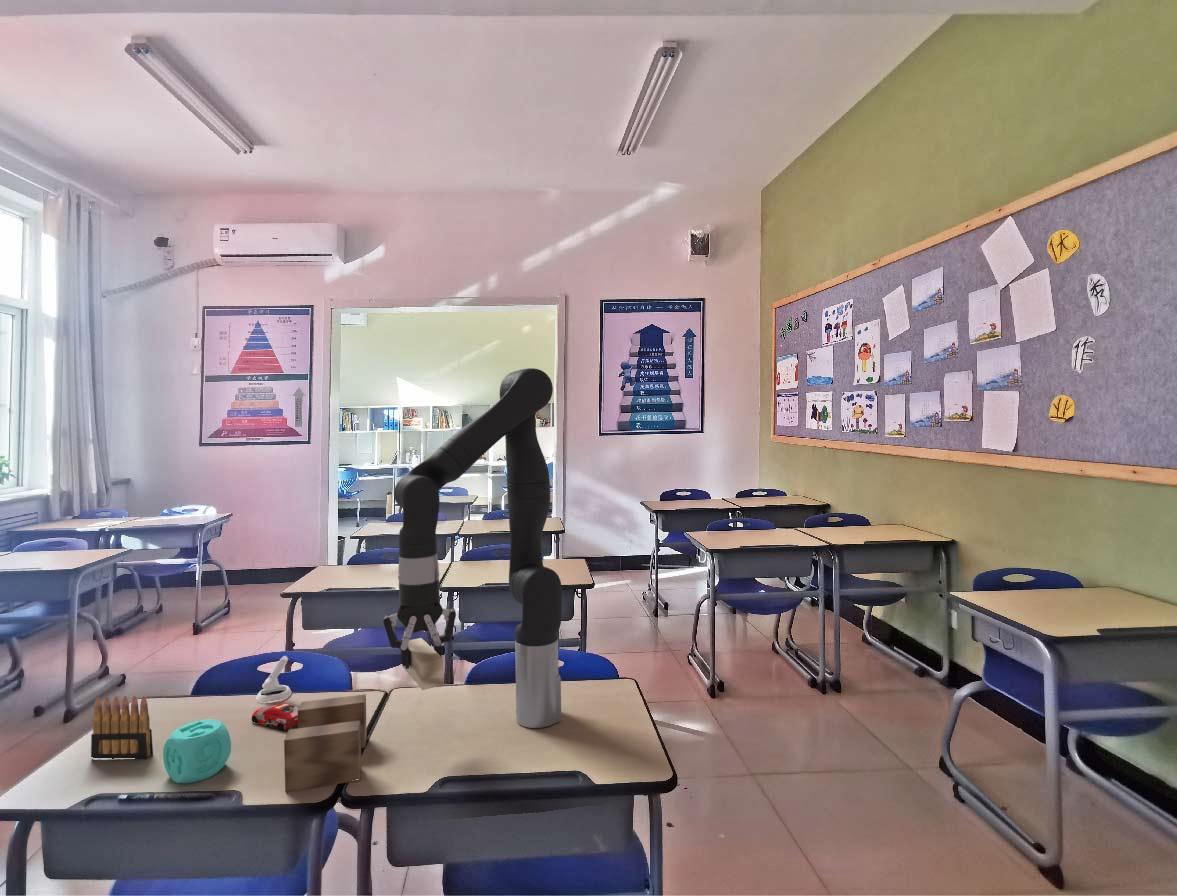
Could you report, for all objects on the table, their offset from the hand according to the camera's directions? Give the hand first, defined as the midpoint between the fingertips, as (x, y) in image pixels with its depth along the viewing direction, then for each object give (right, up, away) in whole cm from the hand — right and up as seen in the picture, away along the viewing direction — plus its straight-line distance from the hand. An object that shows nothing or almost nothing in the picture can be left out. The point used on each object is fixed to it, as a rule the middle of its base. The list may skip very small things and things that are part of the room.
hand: (421, 665), depth 117 cm
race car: (-35, -18, +14) cm, 41 cm away
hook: (-43, -17, +27) cm, 53 cm away
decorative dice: (-40, -18, -6) cm, 44 cm away
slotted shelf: (-16, -17, -3) cm, 24 cm away
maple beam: (0, -2, 0) cm, 2 cm away
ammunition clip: (-58, -18, 0) cm, 61 cm away
